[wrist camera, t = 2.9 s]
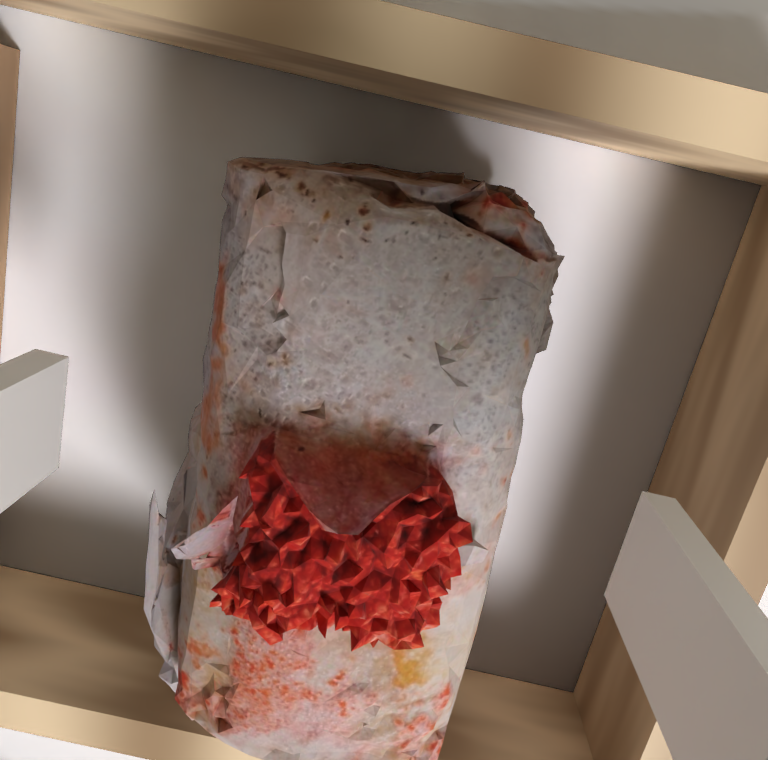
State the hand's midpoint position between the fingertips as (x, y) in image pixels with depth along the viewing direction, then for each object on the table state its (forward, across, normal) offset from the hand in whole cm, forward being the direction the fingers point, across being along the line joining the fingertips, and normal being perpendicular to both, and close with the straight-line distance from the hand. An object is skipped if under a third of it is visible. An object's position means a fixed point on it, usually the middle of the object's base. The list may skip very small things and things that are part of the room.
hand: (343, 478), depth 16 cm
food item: (+6, 0, 0) cm, 6 cm away
